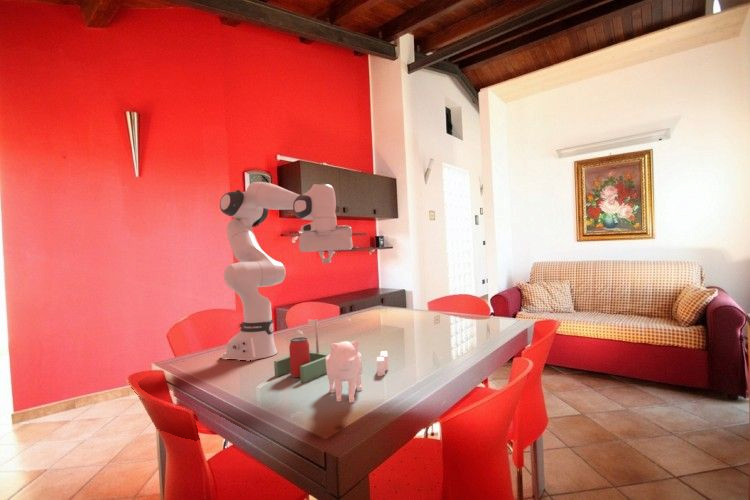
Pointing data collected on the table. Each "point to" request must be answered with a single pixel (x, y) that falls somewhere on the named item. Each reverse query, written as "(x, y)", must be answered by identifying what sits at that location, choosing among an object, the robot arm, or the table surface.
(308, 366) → the green low-walled tray
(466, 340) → the table surface
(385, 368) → the napkin holder
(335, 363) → the cat figurine
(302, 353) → the beer can
